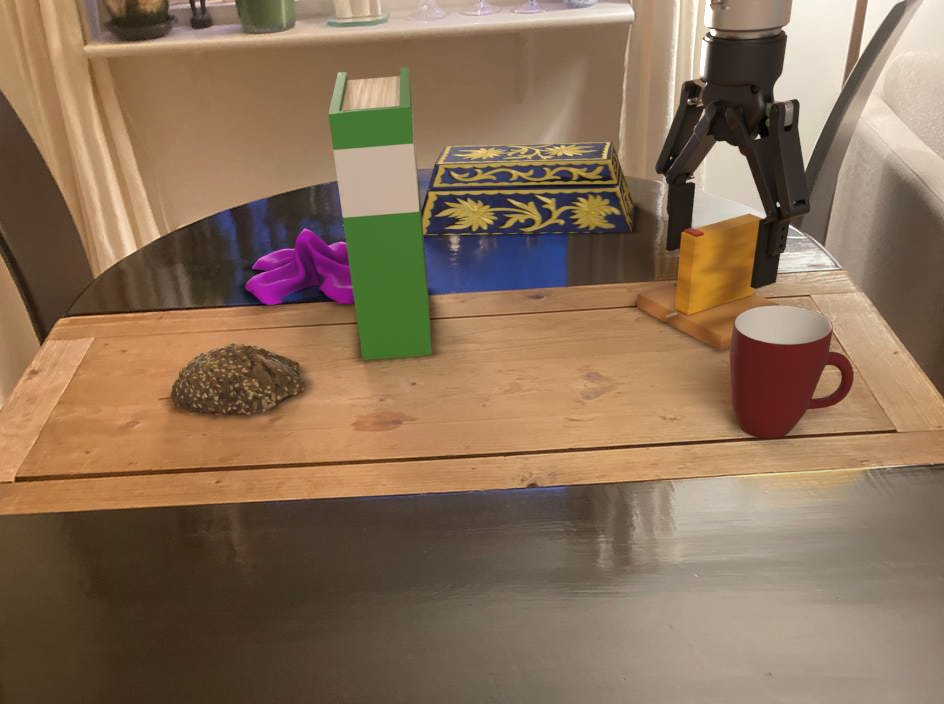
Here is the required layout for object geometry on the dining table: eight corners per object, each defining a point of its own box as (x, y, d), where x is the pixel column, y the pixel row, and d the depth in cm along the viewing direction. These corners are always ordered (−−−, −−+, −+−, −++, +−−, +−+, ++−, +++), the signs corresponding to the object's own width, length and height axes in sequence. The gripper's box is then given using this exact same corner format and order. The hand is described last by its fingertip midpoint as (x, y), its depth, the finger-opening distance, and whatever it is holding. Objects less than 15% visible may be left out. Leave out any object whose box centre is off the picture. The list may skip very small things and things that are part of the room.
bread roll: (157, 409, 97) (143, 363, 93) (230, 358, 105) (220, 314, 102) (260, 430, 92) (250, 383, 89) (328, 375, 100) (321, 329, 97)
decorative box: (425, 212, 138) (419, 144, 132) (635, 208, 134) (639, 138, 128) (412, 238, 130) (406, 167, 124) (635, 235, 126) (639, 161, 120)
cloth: (389, 305, 113) (383, 253, 109) (234, 317, 113) (222, 264, 109) (393, 240, 130) (388, 193, 126) (258, 250, 130) (248, 203, 126)
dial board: (803, 325, 102) (807, 306, 101) (707, 358, 98) (709, 338, 96) (716, 286, 112) (718, 267, 110) (624, 314, 107) (625, 295, 106)
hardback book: (367, 299, 115) (337, 72, 99) (428, 294, 115) (408, 66, 99) (363, 363, 102) (328, 113, 86) (432, 358, 102) (410, 107, 86)
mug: (827, 407, 89) (849, 301, 82) (850, 451, 83) (876, 341, 76) (712, 410, 90) (725, 306, 83) (727, 455, 84) (742, 346, 77)
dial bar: (739, 288, 106) (749, 210, 100) (753, 294, 104) (764, 216, 99) (674, 308, 103) (681, 229, 97) (687, 315, 101) (695, 235, 96)
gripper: (629, 20, 94) (619, 241, 108) (815, 55, 77) (774, 312, 91) (689, 9, 96) (672, 226, 110) (882, 41, 80) (832, 293, 94)
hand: (718, 265), depth 101 cm, fingers open, 13 cm apart
